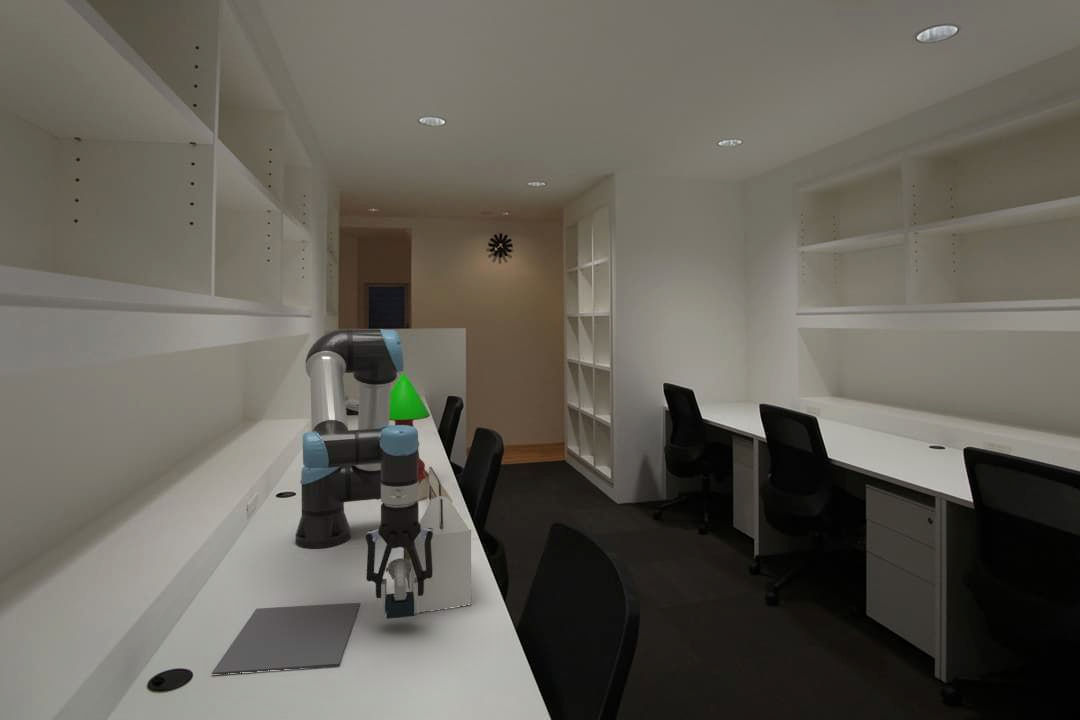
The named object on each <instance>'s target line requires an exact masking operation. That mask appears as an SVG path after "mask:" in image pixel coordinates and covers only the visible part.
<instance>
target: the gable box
mask: <svg viewBox="0 0 1080 720" xmlns="http://www.w3.org/2000/svg"><path fill="white" fill-rule="evenodd" d="M423 473H424V471H423ZM428 473H429V476H428V477H426V475H425V473H424V475H425V477H426V478H424V479H423V480H422V481H421V482H420V483H419V498H418V500H417V502H418V507H419V524H420V525H421V527H422V528H426V529H428V528H432V529H433V536H432V539H431V551H432V568H433V573H432V577H431V578H427V579H425V580H424V593H423V596H418V603H419V607H418V612H424V613H426V612H425V611H431V610H438V609H445V608H450V607H457V606H463V605H468V604H471V605H472V529H471V528H470V526H469V524H468V523H467V521H466V519H465V518H464V516H463V514H462V513H461V511H460V510H459V508H458V506H457V504H456V502H454V501H453V499H452V498H451V496H450V495H449V493H448V491H447V490H446V489H445V488H444V486H443V484H442V483H441V480H440V479H439V477H438V475H437V474H436V471H435V470H434V468H433V467H432V466H429V467H428ZM414 543H415V548H416V551H417V554H418V557H419V560H420V563H421V566H422V569H423V571H425V570H426V562H425V540H423V539H422V535H421V534H420V533H419V535H418V536H417V537H416V539H415V540H414ZM402 558H404V559H408V560H409V561H411V559H410V556H409V553H408V551H407V548H402ZM411 563H412V562H411ZM411 568H412V569H411V572H410V573H409V575H408V578H406V583H405V586H406V592H413V593H414V579H415V577H416V574H415V571H414V568H413V565H412V567H411ZM445 610H446V609H445ZM438 611H439V610H438ZM431 612H432V611H431Z"/></svg>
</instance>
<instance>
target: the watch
mask: <svg viewBox="0 0 1080 720" xmlns="http://www.w3.org/2000/svg"><path fill="white" fill-rule="evenodd" d="M387 565H388V566H386V569H385V572H388V573H389V575H390V577H391V579H392V580H393V583H394V593H387V596H386V614H385V616H386V617H385V619H386V620H389V619H399V618H408V617H409V618H410V617H414V616H415V614H414V593H413V592H407V591H406V586H405V583H406V578H408V575H409V573H410V572H411V569H412V568H411V567H412V563H411V561H409V560H408V559H404V558H403V557H401V558H394V559H393V560H391V561H390V562H389V563H388V564H387Z"/></svg>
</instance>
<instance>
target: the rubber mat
mask: <svg viewBox="0 0 1080 720" xmlns="http://www.w3.org/2000/svg"><path fill="white" fill-rule="evenodd" d="M360 606H361V602H346V603H345V602H344V603H328V604H326V603H325V604H314V605H313V604H310V605H296V606H295V605H294V606H279V607H278V606H276V607H262V608H261V607H260V608H259V607H258V608H255V609H254V611H253V613H252V614H251V615H250V617H249V618H248V620H247V622H246V623H245V624H244V626H243V627H242V628H241V629H240V631H239V633H238V635H237V636H236V637H235V639H233V641H232V643H231V644H230V646H229V647H228V648H227V650H226V651H225V653H224V655H223V656H222V657H221V659H220V660H219V662H218V663H217V665H216V666H215V667H214V668H213V670H212V672H211V675H212V674H228V673H229V674H230V673H240V672H241V673H242V672H257V671H268V670H269V671H270V670H284V669H300V668H314V669H325V668H326V667H327V668H339V667H340V666H341V663H342V660H343V657H344V654H345V650H346V648H347V646H348V642H349V638H350V636H351V633H352V629H353V627H354V625H355V622H354V621H356V619H355V618H357V616H356V615H358V613H357V612H359V609H360ZM338 666H339V667H338ZM322 667H323V668H322ZM324 667H325V668H324Z"/></svg>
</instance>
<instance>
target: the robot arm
mask: <svg viewBox="0 0 1080 720" xmlns="http://www.w3.org/2000/svg"><path fill="white" fill-rule="evenodd" d="M402 346H403V345H402V342H401V337H400V335H399V333H398V332H397V331H396V330H394V329H383V328H379V329H346V328H345V329H343V328H341V329H340V328H339V329H337V330H336V329H335V330H332V331H329V332H327V333H326V334H324V335H322V336H321V337H319V338H318V339H317V340H316V341H315V342H314V343H313V344H312V346H311V347H310V349H309V350H308V352H307V354H306V358H305V372H306V374H307V376H308V377H309V379H310V410H311V412H310V413H311V414H310V416H311V417H310V418H311V432H305V433H303V435H302V464H303V467H302V469H301V472H300V473H301V475H300V478H301V480H300V481H299V482H300V484H301V485H300V486H301V516H300V520H299V522H298V526H297V529H296V532H295V544H296V545H297V546H298V547H301V548H305V549H325V548H329V547H335V546H338V545H341V544H344V543H345V542H347V541H349V540H350V539H351V527H350V524H349V521H348V518H347V516H346V513H345V503H350V502H360V501H368V500H369V501H370V500H376V501H377V500H378V501H379V500H380V502H381V504H380V525H379V528H378V529H375V530H374V529H373V530H372V529H369V530H367V532H366V535H365V540H366V544H367V559H366V575H365V577H366V581H367V582H372V583H375V597H376V599H380V600H381V601H380V602H381V609H380V611H381V612H380V613H381V616H386V596H387V594H388V593H387V591H388V588H387V585H388V583H387V578H384V575H385V572H386V568H387V567H388V566H387V565H388V562H389V559H390V555H391V553H392V549H397V548H401V549H403V548H407V551H408V553H409V556H410V559H411V562H412V565H413V568H414V571H415V574H416V577H415V579H414V613H417V614H419V613H418V607H419V603H418V596H423V593H424V580H425V579H427V578H431V577H432V573H433V568H432V551H431V539H432V536H433V529H432V528H428V529H426V528H422V527H421V525H420V524H419V507H418V502H417V500H418V498H419V480H418V452H419V449H420V448H419V447H420V441H419V431H418V429H417V428H416V427H415V426H414V425H413V426H414V427H413V426H408V425H395V424H390V420H389V413H390V393H391V390H392V383H394V382H396V380H397V378H398V373H402V372H404V365H405V364H404V354H403V347H402ZM345 373H346V374H353V378H354V380H355V381H356V382H358V415H357V418H358V419H357V420H358V421H357V429H349V426H348V424H349V423H348V417H347V406H346V397H345V387H344V377H343V376H344V374H345ZM419 533H420V534H421V535H422V539H423V540H425V562H426V570H425V571H423V569H422V566H421V563H420V560H419V557H418V554H417V551H416V548H415V543H414V540H415V539H416V537H417V536H418V535H419ZM379 536H380V538H382V540H383V541H384V543H385V544H386V546H385V548H384V549H385V550H384V552H383V556H382V559H381V561H380V565H379V568H378V572H375V564H376V563H375V561H376V560H375V559H376V542H377V541H378V539H379Z"/></svg>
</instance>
